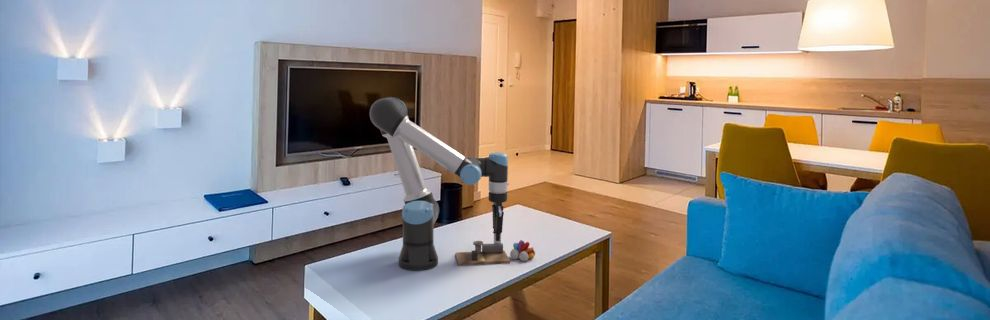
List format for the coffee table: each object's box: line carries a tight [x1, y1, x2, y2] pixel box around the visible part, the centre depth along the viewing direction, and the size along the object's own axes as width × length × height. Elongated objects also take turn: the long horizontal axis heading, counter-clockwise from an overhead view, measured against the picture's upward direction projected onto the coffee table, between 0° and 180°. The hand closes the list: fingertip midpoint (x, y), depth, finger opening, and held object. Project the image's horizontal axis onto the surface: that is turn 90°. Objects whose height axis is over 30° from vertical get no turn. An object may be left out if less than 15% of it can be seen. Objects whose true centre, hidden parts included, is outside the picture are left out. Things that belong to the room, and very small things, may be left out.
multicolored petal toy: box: [509, 239, 536, 262], centre depth 212 cm, size 8×10×7 cm
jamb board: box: [455, 240, 511, 267], centre depth 211 cm, size 20×13×5 cm, turn 99°
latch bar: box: [481, 242, 504, 253], centre depth 216 cm, size 8×2×3 cm, turn 96°
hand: (497, 247), depth 218 cm, fingers closed
